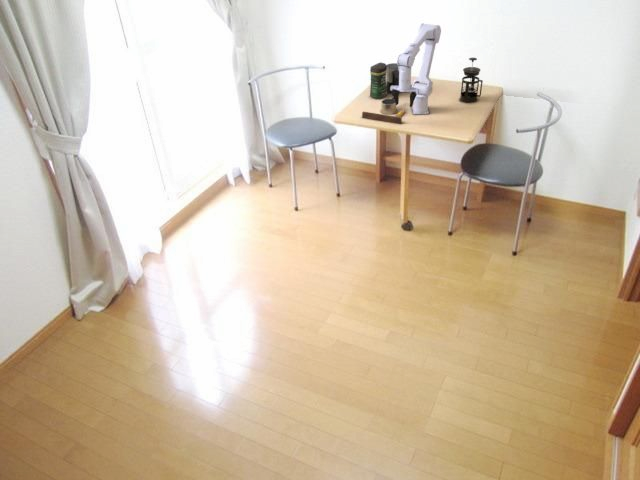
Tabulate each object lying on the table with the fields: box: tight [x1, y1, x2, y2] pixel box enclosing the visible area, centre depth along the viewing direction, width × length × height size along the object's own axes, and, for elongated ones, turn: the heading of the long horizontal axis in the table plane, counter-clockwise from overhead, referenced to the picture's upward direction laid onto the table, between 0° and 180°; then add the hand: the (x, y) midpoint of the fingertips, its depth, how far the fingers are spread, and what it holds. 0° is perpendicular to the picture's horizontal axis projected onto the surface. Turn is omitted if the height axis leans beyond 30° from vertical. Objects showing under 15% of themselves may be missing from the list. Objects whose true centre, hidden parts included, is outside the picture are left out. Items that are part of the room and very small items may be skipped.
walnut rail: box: [361, 111, 403, 125], centre depth 272 cm, size 22×2×3 cm, turn 61°
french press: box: [459, 57, 484, 104], centre depth 279 cm, size 12×9×23 cm
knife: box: [395, 109, 405, 118], centre depth 274 cm, size 12×2×1 cm, turn 150°
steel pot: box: [380, 96, 397, 115], centre depth 282 cm, size 15×8×6 cm, turn 150°
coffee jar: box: [369, 62, 387, 99], centre depth 294 cm, size 10×8×19 cm
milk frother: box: [386, 62, 412, 94], centre depth 299 cm, size 14×16×15 cm
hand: (404, 105), depth 260 cm, fingers open, 7 cm apart
